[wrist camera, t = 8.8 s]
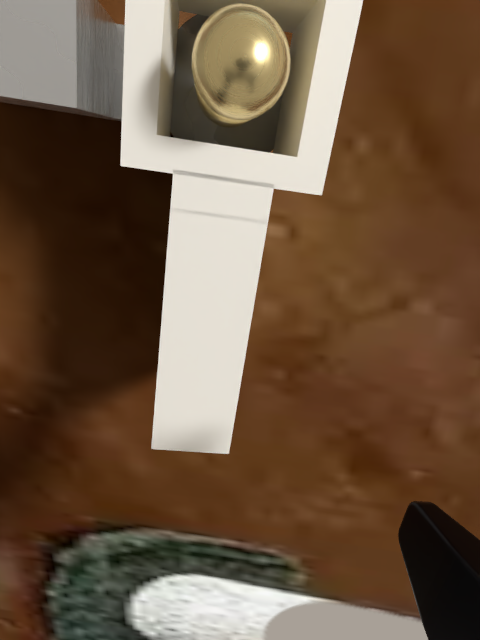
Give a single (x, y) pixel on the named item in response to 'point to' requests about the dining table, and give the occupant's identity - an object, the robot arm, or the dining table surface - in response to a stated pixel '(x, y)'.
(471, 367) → the dining table surface
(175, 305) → the square loop paddle
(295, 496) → the dining table surface
